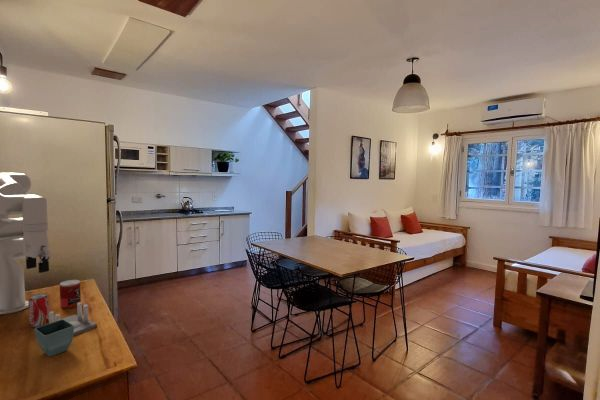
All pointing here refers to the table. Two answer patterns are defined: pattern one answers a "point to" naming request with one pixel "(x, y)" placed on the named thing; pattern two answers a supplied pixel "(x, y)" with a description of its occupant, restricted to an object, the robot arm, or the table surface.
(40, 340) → the flower pot
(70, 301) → the canned food
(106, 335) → the table surface
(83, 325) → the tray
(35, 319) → the soda can
